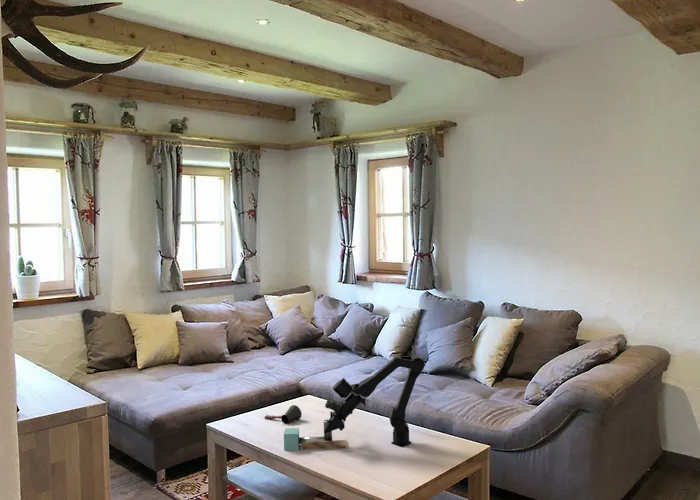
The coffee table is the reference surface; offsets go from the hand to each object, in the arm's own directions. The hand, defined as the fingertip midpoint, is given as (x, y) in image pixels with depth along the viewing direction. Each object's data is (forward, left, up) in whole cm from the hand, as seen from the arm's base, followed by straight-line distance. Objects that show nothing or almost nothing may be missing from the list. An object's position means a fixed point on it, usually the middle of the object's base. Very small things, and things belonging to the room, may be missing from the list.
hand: (324, 430), depth 249 cm
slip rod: (+3, +3, -5) cm, 7 cm away
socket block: (+10, +10, -7) cm, 16 cm away
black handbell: (+40, -10, -7) cm, 42 cm away
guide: (0, 0, -7) cm, 7 cm away
